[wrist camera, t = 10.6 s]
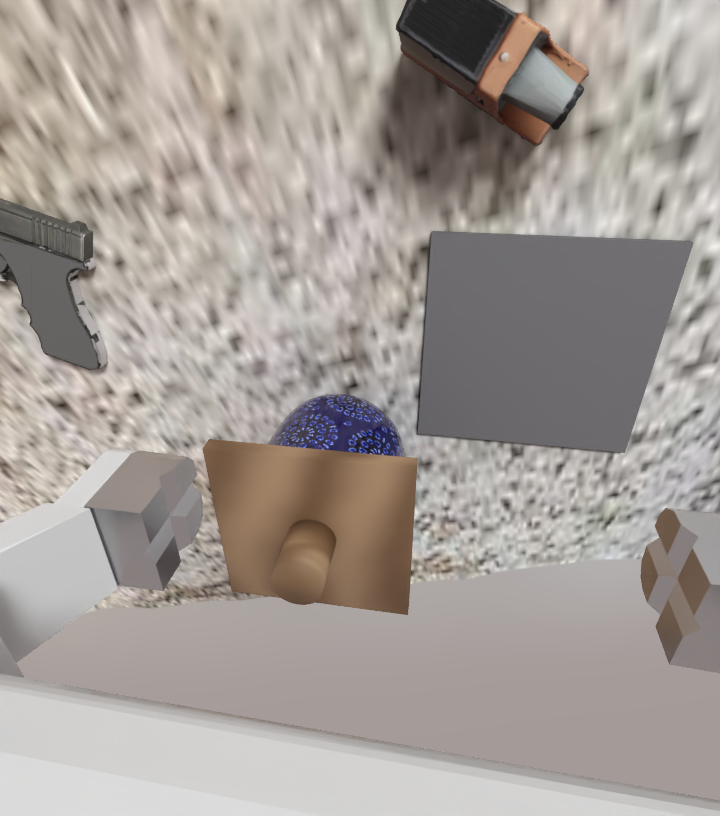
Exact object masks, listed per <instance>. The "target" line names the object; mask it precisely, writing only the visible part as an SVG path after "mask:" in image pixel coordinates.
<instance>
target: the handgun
mask: <svg viewBox="0 0 720 816" xmlns="http://www.w3.org/2000/svg"><path fill="white" fill-rule="evenodd" d="M92 257H93V231H90V230H88V228H87V226H86V224H85V223H82V222H79V221H76V222H73V223H68V222H65V221H62V220H59V219H57V218H54V217H51V216H48V215H45V214H43V213H40V212H37V211H34V210H31V209H29V208H26V207H23V206H20V205H17V204H14V203H12V202H9V201H6V200H3V199H0V281H8V280H11V281H13V282H15V283H16V284H17V286H18V289H19V292H20V294H21V297H22V303H21V306H23V307H24V308H25V309H26V310H27V312H28V313H29V315H30V318H31V322H30V326H31V327H32V328H33V329H34V330H35V332H36V333H37V335H38V337H39V339H40V342H41V347H42V350H43V352H44V353H45V354H46V355H49V356H52V357H55V358H58V359H61V360H63V361H66V362H69V363H72V364H75V365H78V366H81V367H84V368H86V369H89V370H97V369H99V368H101V367H103V366H104V365H105V364H106V363H108V356H107V350H106V347H105V344H104V341H103V339H102V337H101V334H100V332H99V330H98V328H97V326H96V324H95V323H94V321H93V319H92V318H91V316H90V314H89V312H88V310H87V308H86V305H85V303H84V300H83V297H82V293H81V290H80V286H79V282H78V272H79V270H85V271H89V270H91V269H93V268H95V267H96V263H95V261H94V259H93V258H92ZM8 268H9V270H8V272H7V271H5V270H7V269H8Z"/></svg>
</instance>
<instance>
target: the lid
mask: <svg viewBox="0 0 720 816" xmlns="http://www.w3.org/2000/svg"><path fill="white" fill-rule="evenodd" d="M203 453H204V458H205V462H206V467H207V472H208V477H209V482H210V487H211V492H212V496H213V501H214V506H215V511H216V516H217V521H218V526H219V531H220V535H221V540H222V545H223V550H224V555H225V560H226V565H227V569H228V574H229V579H230V584H231V589H232V591H235V592H242V593H250V594H257V595H265V596H272V597H279V598H282V599H284V600H286V601H288V602H291V603H294V604H301V605H302V604H303V605H305V604H311V603H314V602H316V603H324V604H332V605H338V606H346V607H353V608H361V609H368V610H375V611H383V612H390V613H398V614H405V615H408V607H409V593H410V576H411V559H412V542H413V525H414V508H415V491H416V474H417V458H409V457H398V456H387V455H376V454H365V453H354V452H343V451H332V450H322V449H311V448H300V447H289V446H278V445H267V444H256V443H245V442H234V441H223V440H213V439H209V440H208V442H207V443H206V444H205V446H204V447H203Z"/></svg>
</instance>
